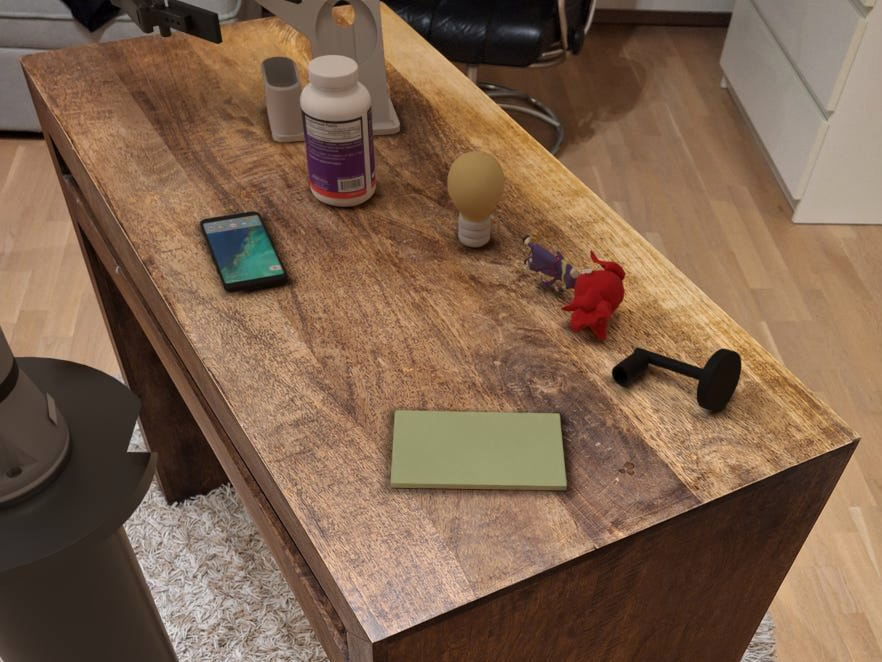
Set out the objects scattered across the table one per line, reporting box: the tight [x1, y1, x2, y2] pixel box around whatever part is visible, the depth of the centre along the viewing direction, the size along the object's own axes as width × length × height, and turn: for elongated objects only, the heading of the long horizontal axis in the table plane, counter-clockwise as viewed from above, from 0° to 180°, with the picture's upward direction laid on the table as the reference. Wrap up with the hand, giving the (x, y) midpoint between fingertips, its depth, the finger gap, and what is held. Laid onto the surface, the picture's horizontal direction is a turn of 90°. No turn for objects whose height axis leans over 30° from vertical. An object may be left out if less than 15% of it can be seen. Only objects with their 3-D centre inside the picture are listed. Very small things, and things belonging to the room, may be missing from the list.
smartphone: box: [199, 210, 289, 294], centre depth 102 cm, size 7×1×15 cm
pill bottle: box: [300, 55, 377, 208], centre depth 105 cm, size 8×8×14 cm
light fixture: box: [590, 346, 743, 413], centre depth 89 cm, size 6×11×13 cm
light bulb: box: [446, 150, 506, 248], centre depth 102 cm, size 6×6×10 cm
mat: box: [390, 409, 568, 491], centre depth 85 cm, size 16×10×1 cm, turn 91°
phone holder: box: [254, 0, 401, 143], centre depth 115 cm, size 17×10×18 cm, turn 104°
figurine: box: [522, 234, 627, 341], centre depth 96 cm, size 6×8×15 cm
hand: (260, 8), depth 100 cm, fingers open, 13 cm apart
